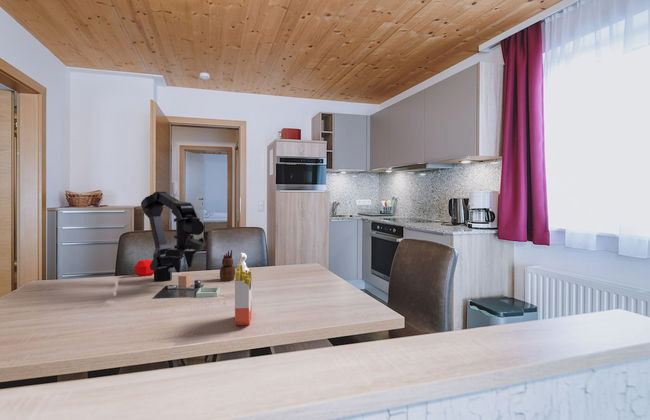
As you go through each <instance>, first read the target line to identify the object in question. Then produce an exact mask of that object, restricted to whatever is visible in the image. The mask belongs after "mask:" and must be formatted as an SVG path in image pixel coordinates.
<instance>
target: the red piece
mask: <svg viewBox="0 0 650 420" xmlns="http://www.w3.org/2000/svg"><path fill="white" fill-rule="evenodd" d="M151 262H152V260H151V259H141V260H138V261H137V262H136V264H134V273H135V274H136V275H137V276H138V277H141V278H142V277H151V276H154V271H153V270H151V269H150V264H151Z"/></svg>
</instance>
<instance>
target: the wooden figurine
mask: <svg viewBox="0 0 650 420" xmlns="http://www.w3.org/2000/svg"><path fill="white" fill-rule="evenodd" d="M233 264H234V259H233V249H231V250H230V251H229V250H227V252H226V253H225V254H223V258H222V260H221V265H222V266H221V267H220V269H219V277H220V280H221V281H222V282H232V281H235V279H236V277H235V271H236V268H235V266H233Z"/></svg>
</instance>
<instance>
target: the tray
mask: <svg viewBox="0 0 650 420" xmlns="http://www.w3.org/2000/svg"><path fill="white" fill-rule="evenodd" d="M220 291H221V287H220V286H213V287H211V286H210V287H202V288H200V289H199V290H198V291H197V293H196V297H195V298H213V297H214V298H216V297H218V296H219V294H220Z"/></svg>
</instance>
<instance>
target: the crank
mask: <svg viewBox="0 0 650 420" xmlns="http://www.w3.org/2000/svg"><path fill="white" fill-rule="evenodd" d="M193 282H194V284H193V285H194V287H182V286H177V285H178V284H168V285H167V286H168V289H192V290H199V289H200V288H201V285H202V283H201V282H202V281H201V279H195V280H194V281H193Z"/></svg>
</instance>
